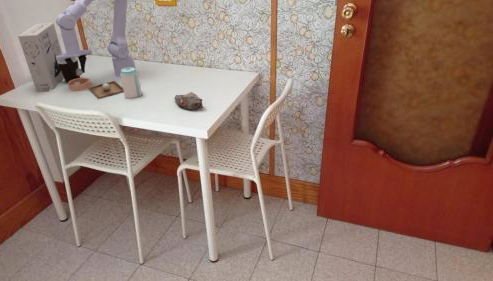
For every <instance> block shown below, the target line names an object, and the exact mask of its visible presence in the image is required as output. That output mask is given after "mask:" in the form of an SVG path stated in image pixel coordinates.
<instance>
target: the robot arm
mask: <svg viewBox="0 0 493 281" xmlns="http://www.w3.org/2000/svg"><path fill="white" fill-rule="evenodd" d="M93 1H94V0H74V1H73V0H72V1H70V5H69V6H68V7H67V8H66V9H63V10H62V12H63V13H59V14H57V16H56V20H55V23H56V25H57V26H58V27H59V30H60V35H61V38H62V41H63V45H64V46H63V47H64V49H65V52H66V53H62V55H59V56H56V59H57V61H61V60H65V61H66V63H67V64H68V65H69V67H70V68H71V70H72V72H73V74H74V75H76V72H75V69H74V65H73V61H72V59H71V58H77V59H78V63H79V66H80V69H81V70H82V71H83V74H85V73H86V62H87V56H89V55H90V56H92V55H93V51H92V49H83V50H81V48H80V43H79V40H78V36H77V32H76V29H75V27H76V23H77V21H79V20H80V19H81V17H82V16H83V15H84V14H86V13H87V8H88V6H89V5H90V4H91V3H92V2H93ZM113 1H114V6H113V20H112V22H113V23H112V24H113V25H112V36H111V38H110V39H109V43H108V45H107V52H108V53H109V54H110V55H111V59H112V60H111V61H112V66H113V70H114V73H112V76H114V77H115V78H117V79H118V80H119V79H120V80H121V76H120V73H121V70H122V69H123V68H127V67H134V68H135V70H136V71H137V69H136V64H135V60H134V58H133V56H132V55H129V54H130V50H129V48H128V41H127V39H126V26H127V25H126V24H127V9H128V0H113Z"/></svg>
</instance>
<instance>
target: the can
mask: <svg viewBox="0 0 493 281" xmlns="http://www.w3.org/2000/svg"><path fill="white" fill-rule="evenodd" d="M135 68H136V67H135ZM135 68H134V67H127V68H123V69H122V70H121V73H120V76H121V78H120V80H121V87H123V90H124V92H123V95H124V97H125V98H126V99H136V98H138V97H141V95H142V94H143V93H142V89H141V82H140V77H139V76H140V75H139V72H138V71H137V69H136V70H135Z"/></svg>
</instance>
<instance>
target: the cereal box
mask: <svg viewBox="0 0 493 281" xmlns="http://www.w3.org/2000/svg"><path fill="white" fill-rule="evenodd" d="M18 40H19V43H20V46H21V49H22V52H23V53H22V54H23V55H24V58H25V59H24V60H25V61H26V65H27V67H28V69H29V70H28V71H29V73H30V76H31V79H32V82H33V85H34V87H35V91H36V92H37V93H39V92H50V90H51V91H52V90H54V89H56V88H57V86H58V85H59V84H60V83H62V81H63V80H65V79H64V76H63V74H62V72H61V69H60V67H59V65H58V61H57V59H56V56H59V55H62V54H63V51H62V48H61V44H60V40H59V37H58V33H57V30H56V26H55V23H54V22H43V23H41V22H40V23H36V24H35V25H33V26H31V27H29V28H28V29H26V30H25V31H24V32H22V33H20V34H19V35H18Z"/></svg>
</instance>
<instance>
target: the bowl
mask: <svg viewBox="0 0 493 281" xmlns="http://www.w3.org/2000/svg"><path fill="white" fill-rule="evenodd" d="M77 81H78V82H80V83H81V84H80V85H73V84H74V82H77ZM67 85H68V89H69V91H72V92H79V91H85V90H89V89H88V87H92V83H91V80H90V79H89V77H88V78H87V77H80V78H77V79H73V80H71V81H69V82H67Z"/></svg>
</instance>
